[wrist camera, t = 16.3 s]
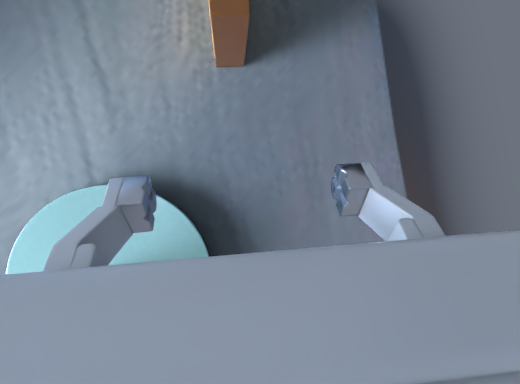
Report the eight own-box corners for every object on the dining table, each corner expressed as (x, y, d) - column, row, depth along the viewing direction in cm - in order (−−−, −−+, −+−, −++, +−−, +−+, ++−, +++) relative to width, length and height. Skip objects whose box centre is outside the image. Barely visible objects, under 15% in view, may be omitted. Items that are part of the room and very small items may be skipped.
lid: (29, 387, 26) (-14, 431, 22) (1, 195, 26) (-50, 198, 21) (222, 356, 28) (221, 391, 23) (201, 174, 27) (195, 173, 22)
